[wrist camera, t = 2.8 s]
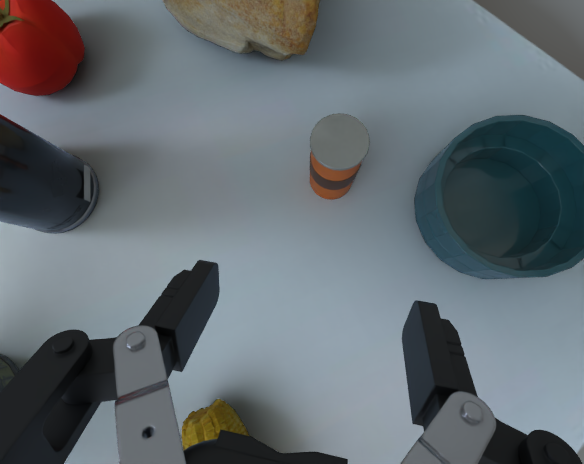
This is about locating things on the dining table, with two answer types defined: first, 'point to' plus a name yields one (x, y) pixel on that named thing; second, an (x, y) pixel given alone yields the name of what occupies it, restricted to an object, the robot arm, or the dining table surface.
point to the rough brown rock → (250, 24)
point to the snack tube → (336, 154)
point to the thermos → (6, 371)
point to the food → (210, 423)
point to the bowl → (505, 199)
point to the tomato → (37, 46)
